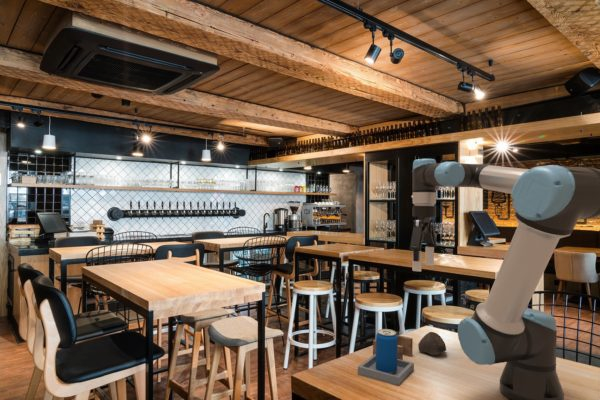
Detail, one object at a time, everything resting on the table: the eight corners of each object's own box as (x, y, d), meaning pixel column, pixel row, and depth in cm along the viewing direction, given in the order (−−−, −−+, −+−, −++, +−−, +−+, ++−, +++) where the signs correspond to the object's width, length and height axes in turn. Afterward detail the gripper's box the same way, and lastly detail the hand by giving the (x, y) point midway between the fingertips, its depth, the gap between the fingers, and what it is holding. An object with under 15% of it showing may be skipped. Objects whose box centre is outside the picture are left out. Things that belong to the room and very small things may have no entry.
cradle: (412, 355, 136) (412, 338, 136) (401, 365, 127) (401, 347, 127) (385, 349, 141) (385, 332, 141) (372, 358, 133) (373, 340, 133)
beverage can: (396, 367, 124) (397, 329, 124) (397, 376, 118) (397, 336, 118) (375, 365, 126) (376, 327, 126) (375, 374, 119) (376, 334, 119)
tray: (413, 370, 123) (413, 362, 123) (398, 386, 113) (398, 377, 113) (375, 360, 131) (375, 353, 131) (357, 374, 120) (357, 366, 120)
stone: (421, 356, 144) (409, 342, 139) (434, 337, 146) (423, 323, 141) (443, 370, 135) (431, 356, 130) (457, 350, 137) (445, 336, 132)
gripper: (424, 204, 145) (423, 262, 145) (399, 205, 124) (399, 272, 124) (445, 205, 140) (444, 264, 140) (423, 205, 120) (422, 275, 120)
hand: (423, 268), depth 132 cm, fingers open, 13 cm apart
